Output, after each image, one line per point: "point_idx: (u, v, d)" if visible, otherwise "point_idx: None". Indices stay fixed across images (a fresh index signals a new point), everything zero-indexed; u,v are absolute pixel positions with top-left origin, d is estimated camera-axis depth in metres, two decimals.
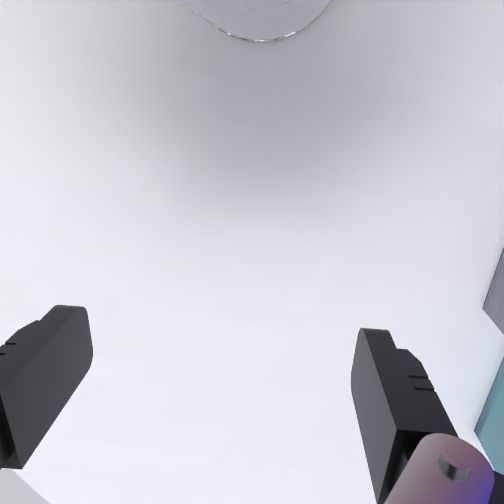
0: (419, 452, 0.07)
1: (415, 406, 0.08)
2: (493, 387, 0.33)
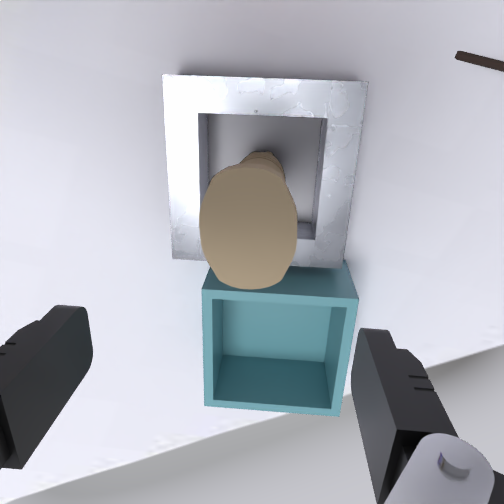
0: (419, 452, 0.07)
1: (415, 406, 0.08)
2: None
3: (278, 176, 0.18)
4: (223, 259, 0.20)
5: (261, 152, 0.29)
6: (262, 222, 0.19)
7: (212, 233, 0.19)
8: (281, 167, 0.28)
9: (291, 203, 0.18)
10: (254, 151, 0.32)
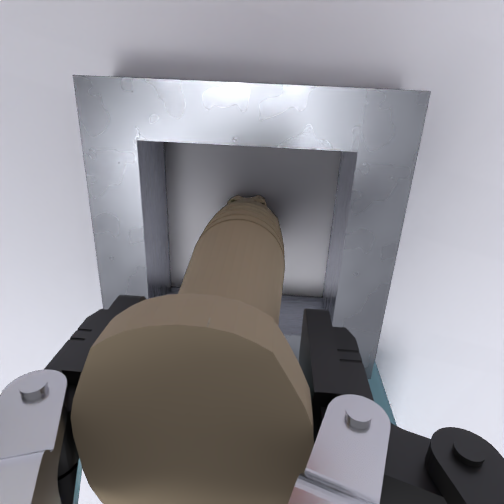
0: (328, 409, 0.08)
1: (336, 373, 0.09)
2: None
3: (266, 345, 0.07)
4: (139, 502, 0.09)
5: (245, 203, 0.18)
6: (227, 440, 0.08)
7: (107, 454, 0.08)
8: (277, 231, 0.17)
9: (300, 407, 0.07)
10: (236, 196, 0.20)
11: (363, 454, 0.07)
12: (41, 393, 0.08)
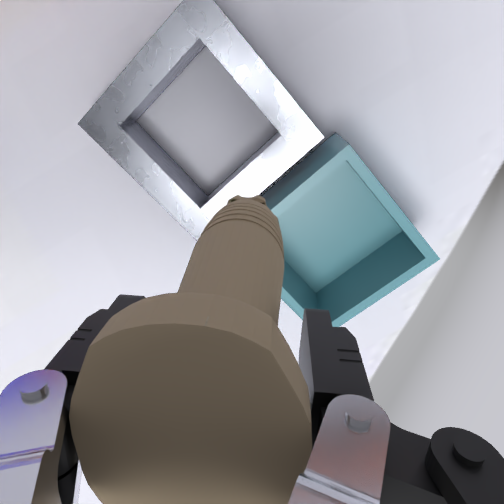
0: (328, 409, 0.08)
1: (336, 373, 0.09)
2: None
3: (264, 344, 0.07)
4: (138, 501, 0.09)
5: (245, 203, 0.18)
6: (225, 439, 0.08)
7: (105, 454, 0.08)
8: (277, 231, 0.17)
9: (298, 406, 0.07)
10: (236, 196, 0.20)
11: (363, 454, 0.07)
12: (41, 393, 0.08)
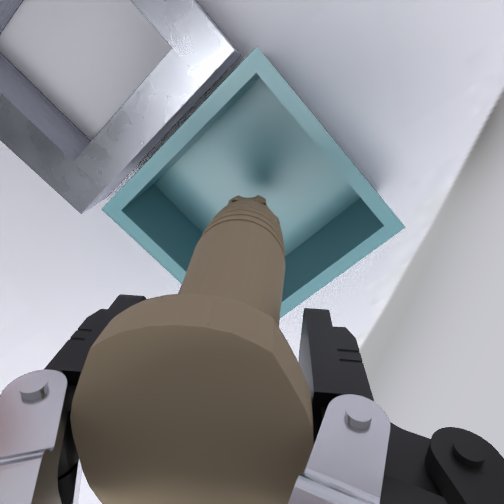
0: (328, 409, 0.08)
1: (336, 373, 0.09)
2: None
3: (266, 345, 0.07)
4: (139, 503, 0.09)
5: (246, 203, 0.18)
6: (227, 441, 0.08)
7: (107, 455, 0.08)
8: (278, 232, 0.17)
9: (300, 408, 0.07)
10: (237, 196, 0.20)
11: (363, 454, 0.07)
12: (41, 393, 0.08)
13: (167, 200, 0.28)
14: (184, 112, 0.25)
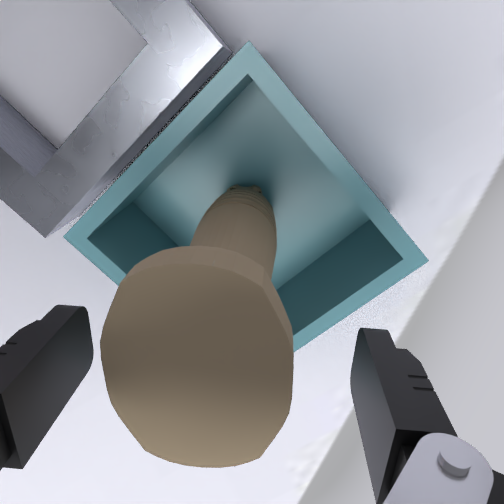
0: (418, 452, 0.07)
1: (414, 406, 0.08)
2: None
3: (257, 282, 0.09)
4: (151, 419, 0.10)
5: (243, 190, 0.20)
6: (224, 363, 0.10)
7: (127, 375, 0.10)
8: (271, 215, 0.19)
9: (283, 334, 0.09)
10: (235, 185, 0.22)
11: None
12: None
13: (148, 221, 0.24)
14: (166, 119, 0.22)
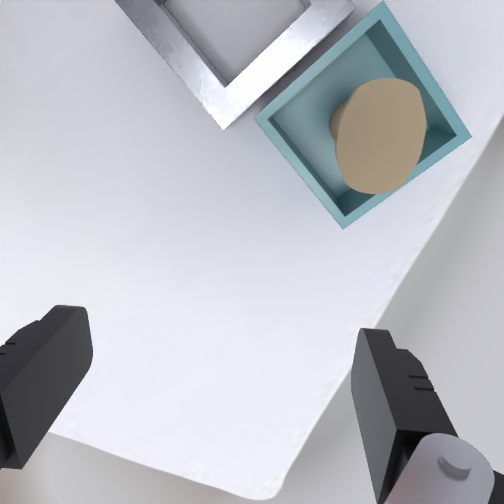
0: (419, 452, 0.07)
1: (415, 406, 0.08)
2: None
3: (416, 88, 0.21)
4: (353, 163, 0.23)
5: None
6: (394, 130, 0.22)
7: (348, 138, 0.22)
8: None
9: (424, 113, 0.22)
10: None
11: None
12: None
13: (280, 127, 0.36)
14: None
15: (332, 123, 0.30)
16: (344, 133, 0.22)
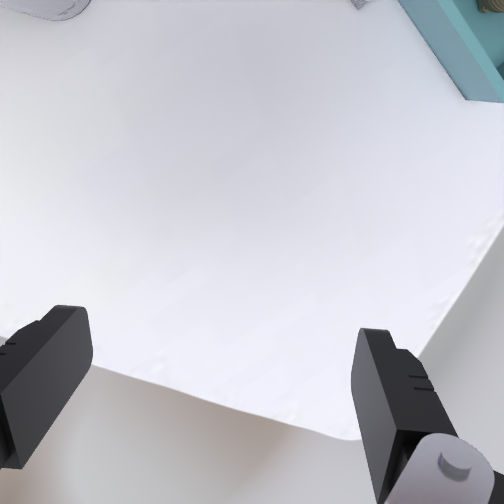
0: (419, 452, 0.07)
1: (415, 406, 0.08)
2: (434, 53, 0.36)
3: None
4: None
5: None
6: None
7: None
8: None
9: None
10: None
11: None
12: None
13: None
14: None
15: None
16: None
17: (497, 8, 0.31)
